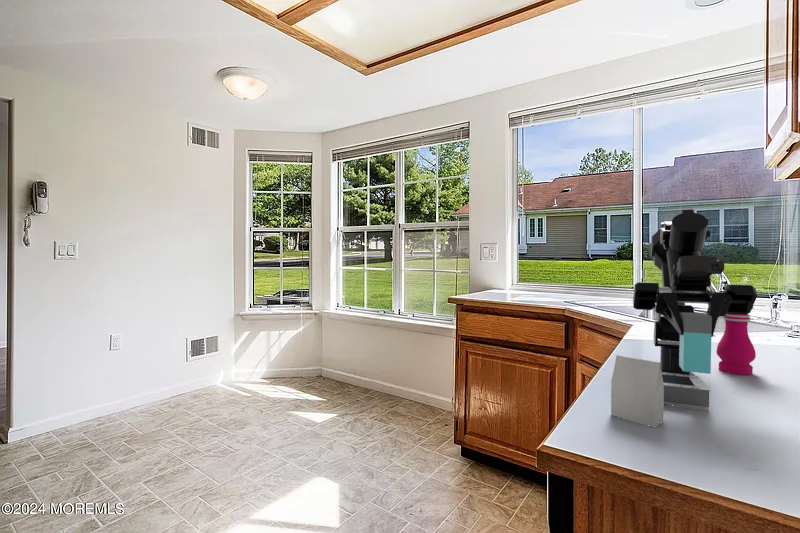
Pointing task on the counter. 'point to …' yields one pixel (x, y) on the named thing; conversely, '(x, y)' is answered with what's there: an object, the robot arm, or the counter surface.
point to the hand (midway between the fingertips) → (696, 334)
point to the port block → (685, 391)
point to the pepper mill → (736, 346)
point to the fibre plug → (695, 343)
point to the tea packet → (637, 390)
